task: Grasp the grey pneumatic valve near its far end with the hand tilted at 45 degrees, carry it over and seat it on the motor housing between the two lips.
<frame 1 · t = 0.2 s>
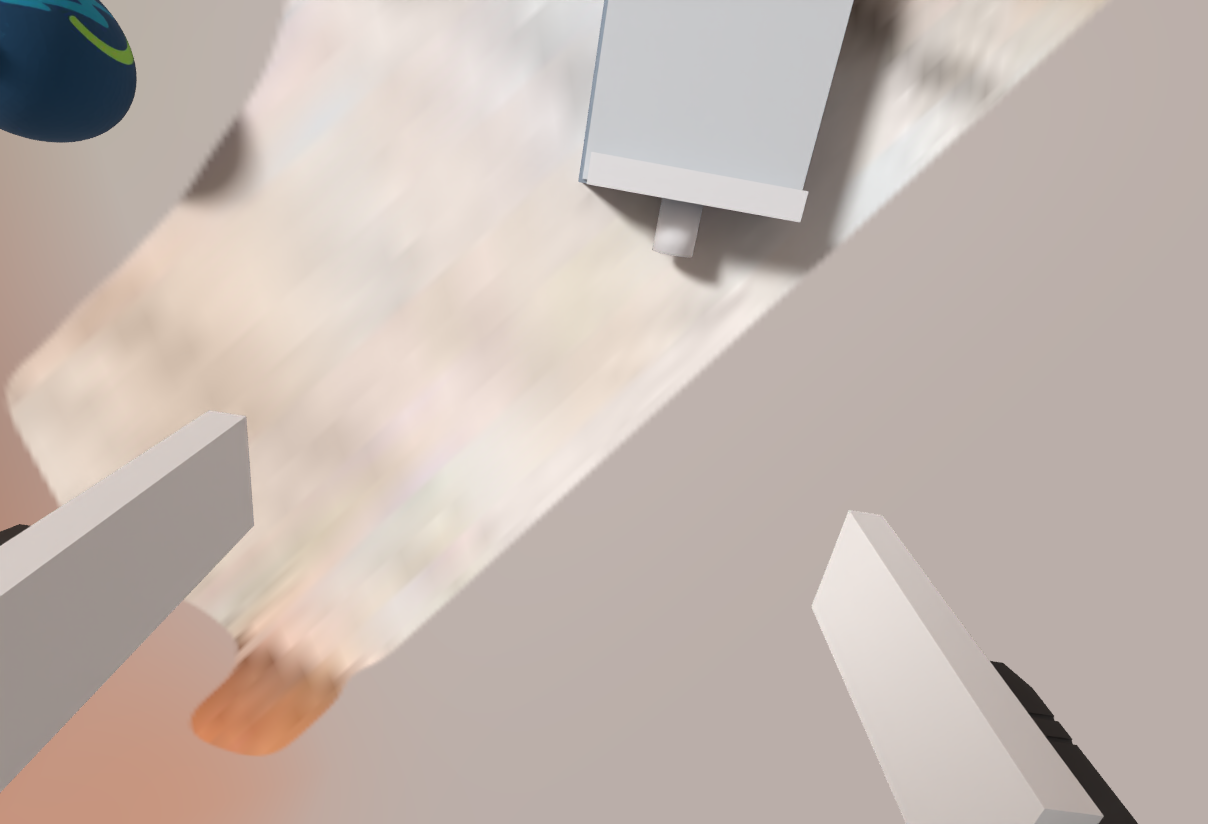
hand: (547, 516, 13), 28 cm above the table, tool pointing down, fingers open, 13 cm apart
motor housing: (713, 19, 34), on the table
christmas ornament: (98, 65, 35), on the table
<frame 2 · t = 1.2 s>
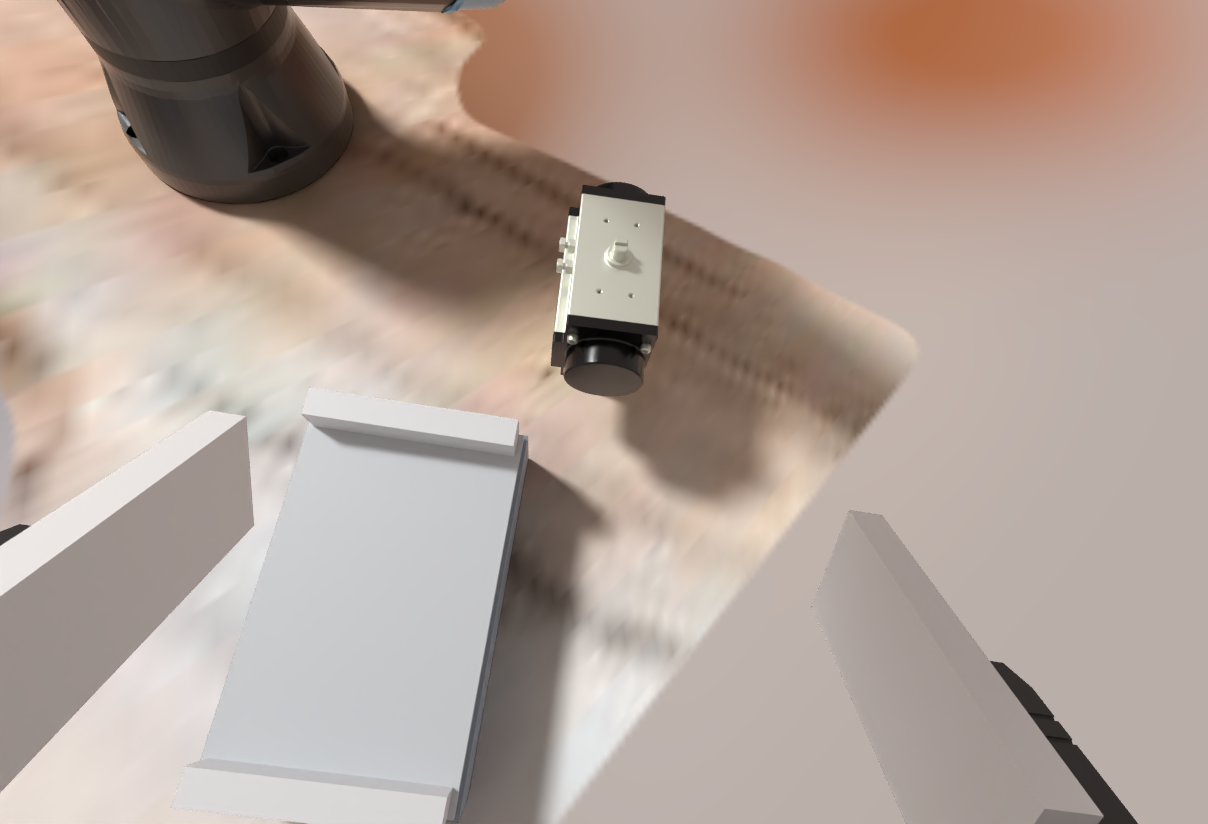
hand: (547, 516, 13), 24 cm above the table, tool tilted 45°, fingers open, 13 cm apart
motor housing: (397, 597, 35), on the table
pneumatic valve: (591, 349, 42), on the table
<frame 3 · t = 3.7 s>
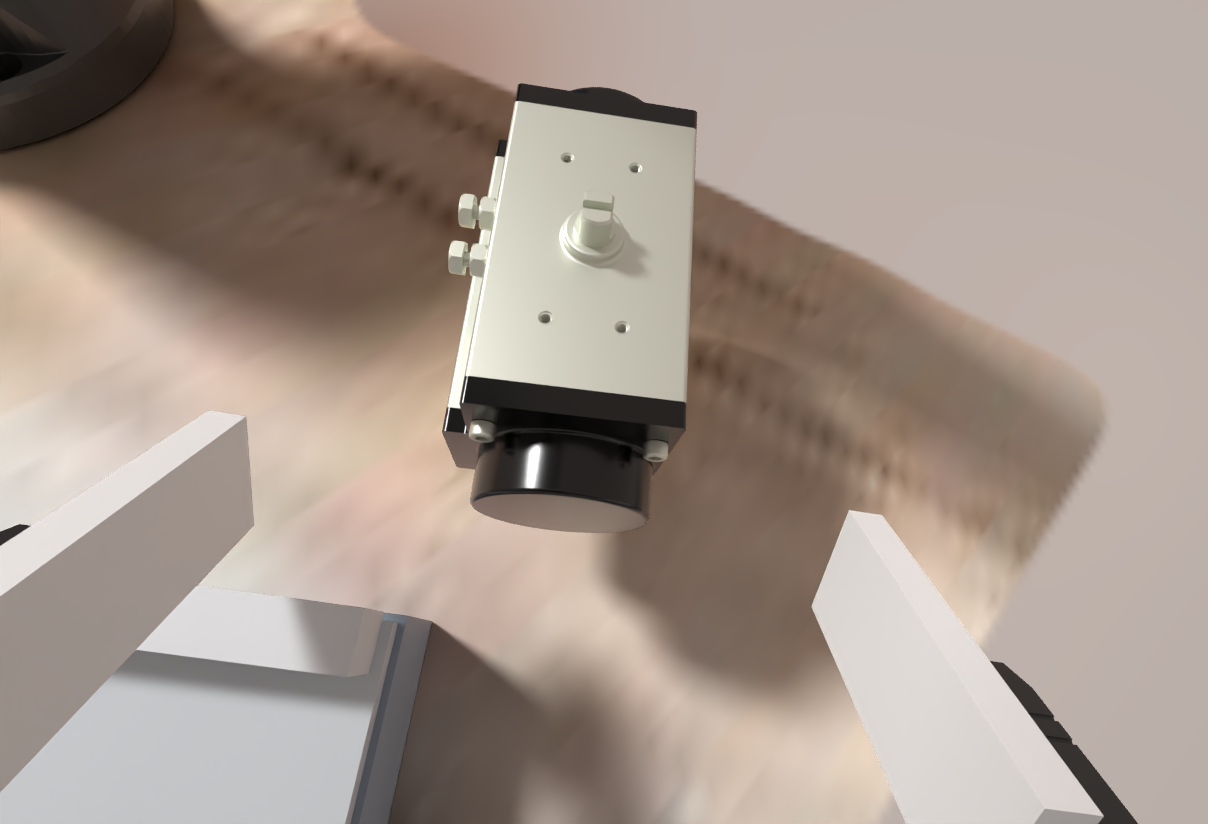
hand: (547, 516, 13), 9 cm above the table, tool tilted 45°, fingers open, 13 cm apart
pneumatic valve: (556, 408, 24), on the table
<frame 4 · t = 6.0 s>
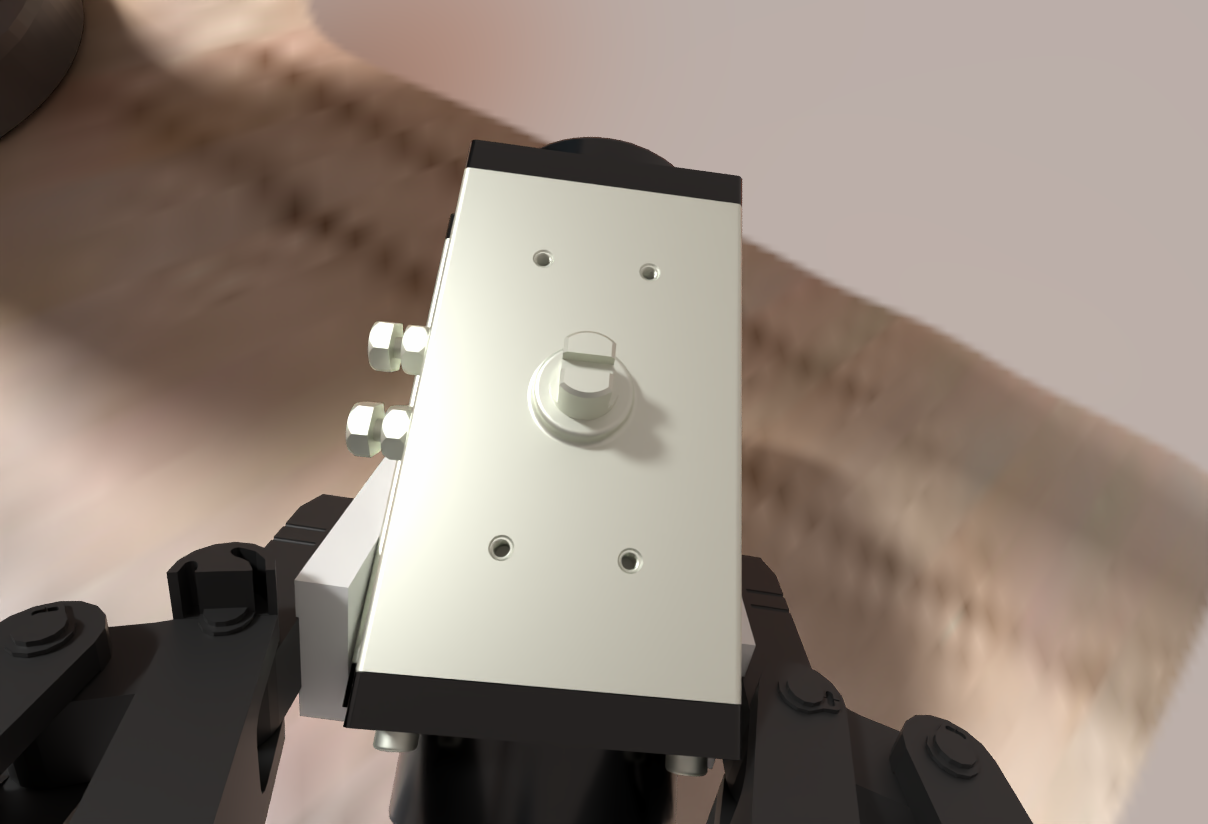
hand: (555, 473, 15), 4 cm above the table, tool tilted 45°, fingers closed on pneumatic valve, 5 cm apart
pneumatic valve: (547, 531, 19), on the table, touching gripper
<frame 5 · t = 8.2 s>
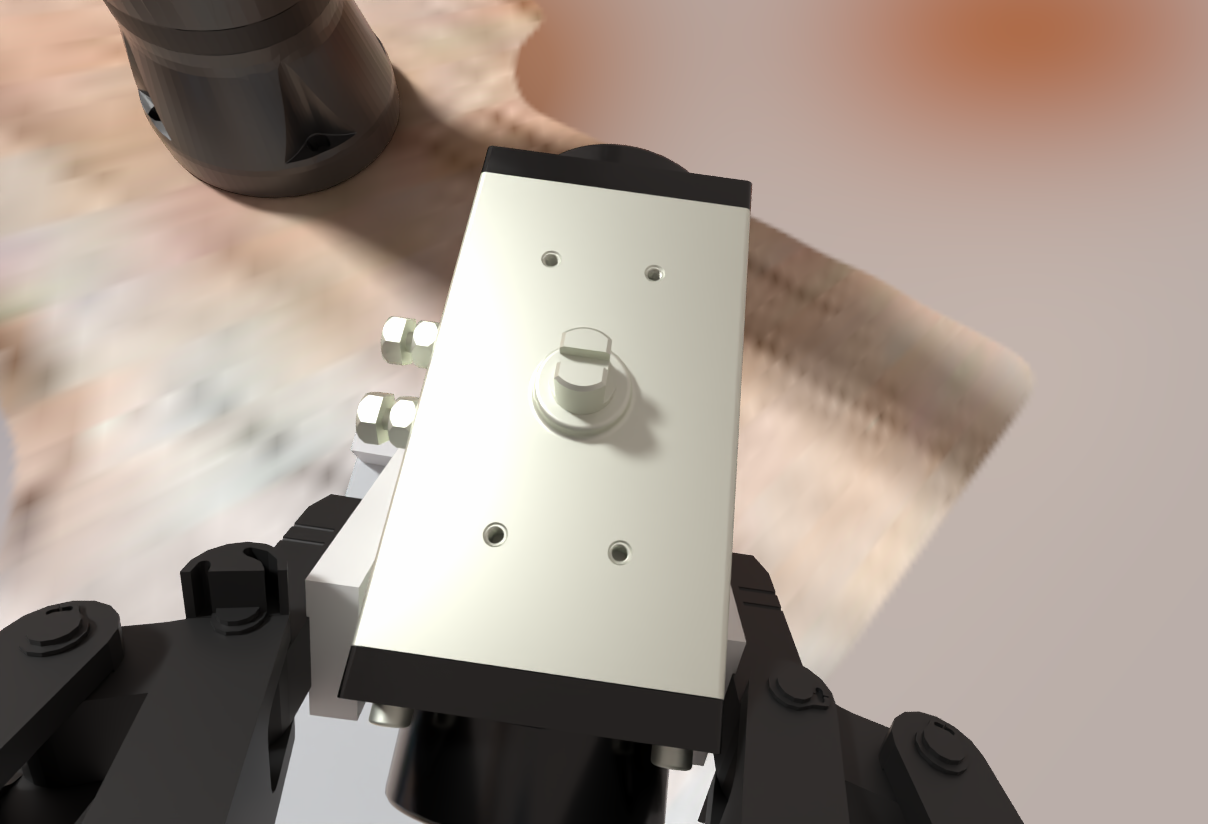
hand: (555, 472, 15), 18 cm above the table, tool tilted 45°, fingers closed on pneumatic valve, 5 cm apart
motor housing: (452, 661, 30), on the table
pneumatic valve: (565, 533, 19), point 14 cm above the table, touching gripper
when the fingers open (10 cm above the table, at t = 10.4 s): pneumatic valve stays where it is, resting on motor housing.
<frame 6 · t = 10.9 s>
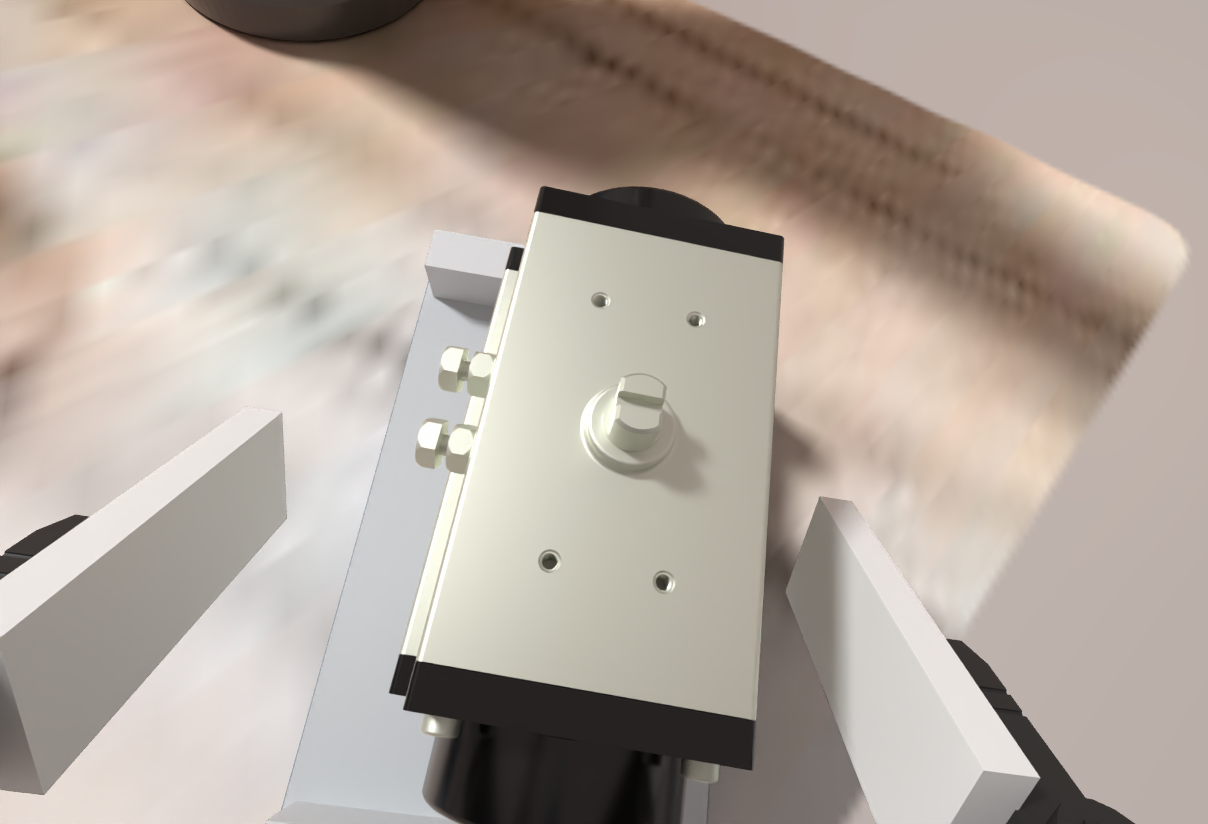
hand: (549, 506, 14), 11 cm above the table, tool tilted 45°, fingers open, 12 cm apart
motor housing: (543, 556, 24), on the table
pneumatic valve: (565, 544, 20), point 5 cm above the table, touching motor housing
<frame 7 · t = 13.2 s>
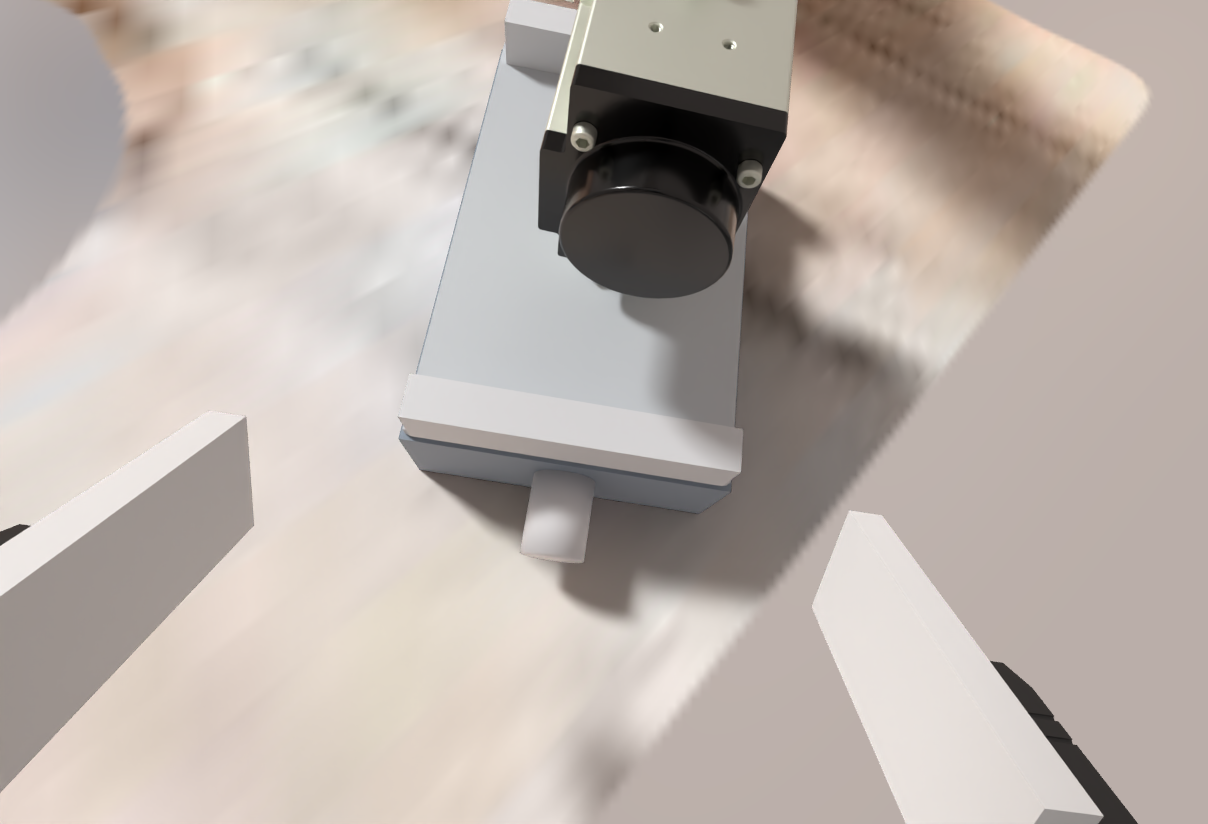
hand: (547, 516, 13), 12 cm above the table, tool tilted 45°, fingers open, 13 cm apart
motor housing: (592, 299, 29), on the table
pneumatic valve: (619, 245, 25), point 5 cm above the table, touching motor housing
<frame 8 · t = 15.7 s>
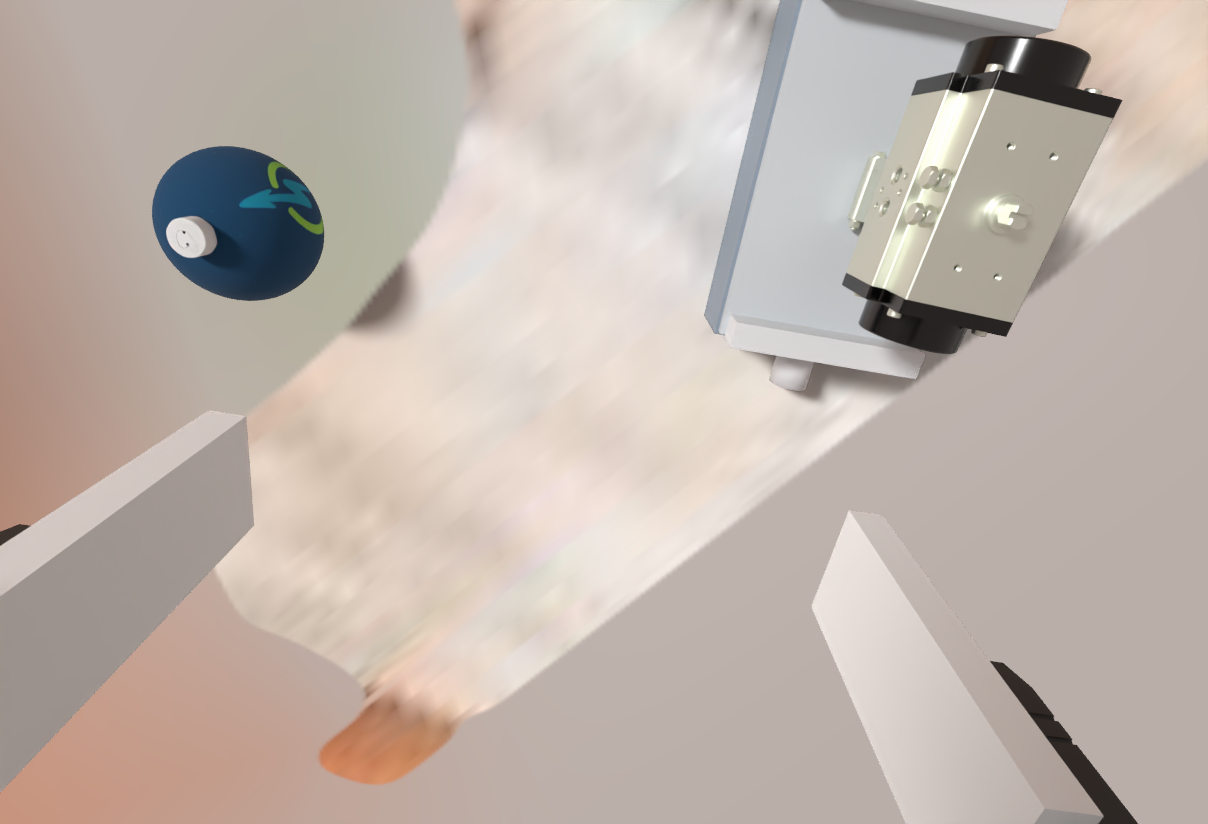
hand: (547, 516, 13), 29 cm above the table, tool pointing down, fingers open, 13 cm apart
motor housing: (835, 182, 37), on the table
pneumatic valve: (876, 192, 33), point 5 cm above the table, touching motor housing
christmas ornament: (281, 218, 39), on the table
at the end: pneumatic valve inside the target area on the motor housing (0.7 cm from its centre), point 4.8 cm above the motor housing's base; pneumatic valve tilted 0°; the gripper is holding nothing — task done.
